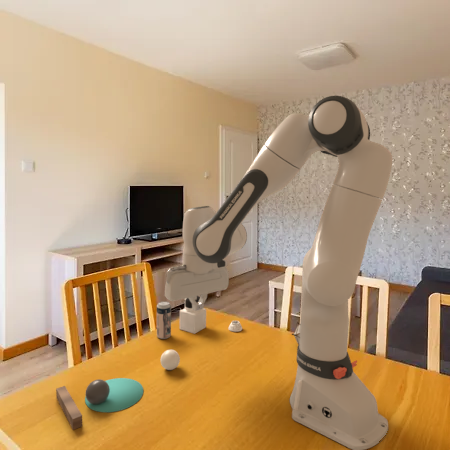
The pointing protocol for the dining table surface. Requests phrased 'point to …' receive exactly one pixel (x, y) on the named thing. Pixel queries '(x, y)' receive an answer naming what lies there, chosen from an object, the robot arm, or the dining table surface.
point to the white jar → (235, 326)
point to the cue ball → (170, 359)
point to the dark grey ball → (97, 392)
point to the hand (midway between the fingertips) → (197, 309)
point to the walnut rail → (69, 407)
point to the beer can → (163, 320)
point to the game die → (297, 333)
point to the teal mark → (119, 395)
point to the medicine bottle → (192, 318)
